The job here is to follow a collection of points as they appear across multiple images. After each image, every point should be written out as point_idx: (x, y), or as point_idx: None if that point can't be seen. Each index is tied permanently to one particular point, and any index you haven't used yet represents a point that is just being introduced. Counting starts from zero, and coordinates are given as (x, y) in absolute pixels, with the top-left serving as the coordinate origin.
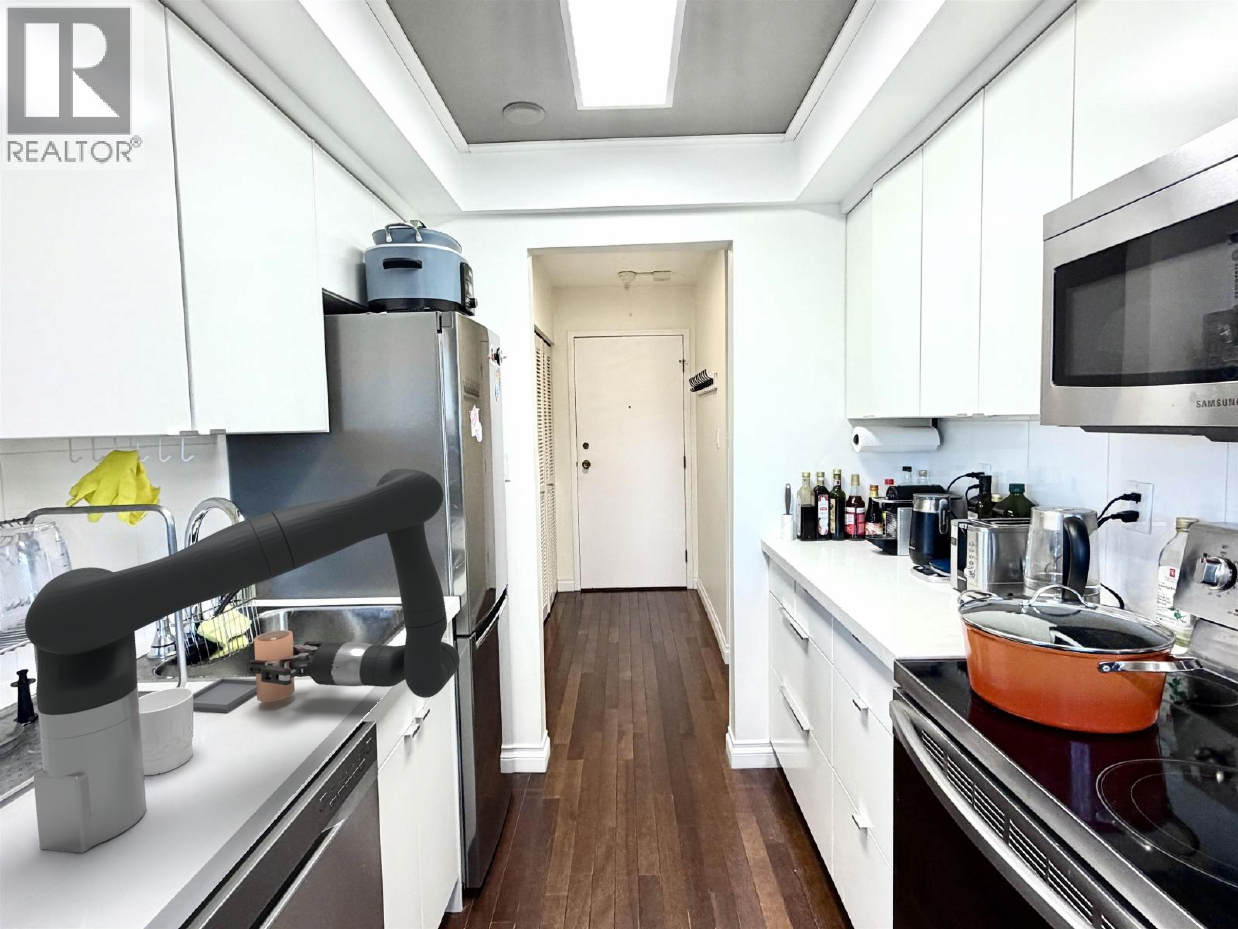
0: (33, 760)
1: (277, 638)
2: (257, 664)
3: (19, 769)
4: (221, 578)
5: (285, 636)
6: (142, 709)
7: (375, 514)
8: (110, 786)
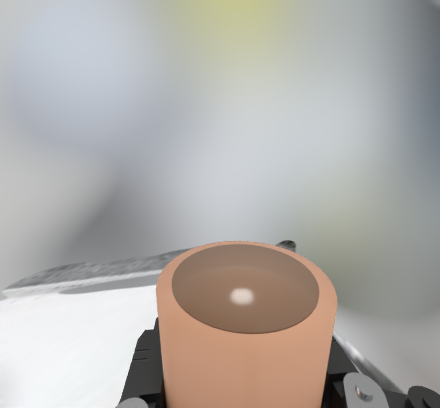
0: (69, 267)
1: (213, 311)
2: (144, 361)
3: (51, 270)
4: None
5: (259, 329)
6: None
7: None
8: None
